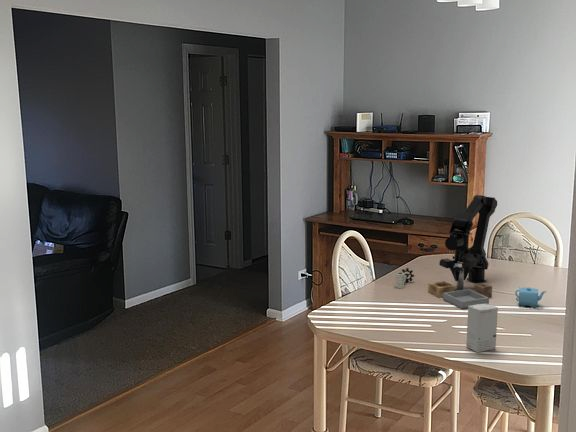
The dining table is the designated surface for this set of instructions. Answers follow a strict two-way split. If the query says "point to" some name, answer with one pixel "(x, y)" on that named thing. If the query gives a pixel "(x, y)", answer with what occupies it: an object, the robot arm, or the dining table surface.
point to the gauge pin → (460, 279)
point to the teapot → (528, 296)
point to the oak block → (440, 288)
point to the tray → (465, 298)
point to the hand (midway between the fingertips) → (460, 280)
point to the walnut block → (484, 289)
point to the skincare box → (481, 327)
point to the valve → (403, 278)
